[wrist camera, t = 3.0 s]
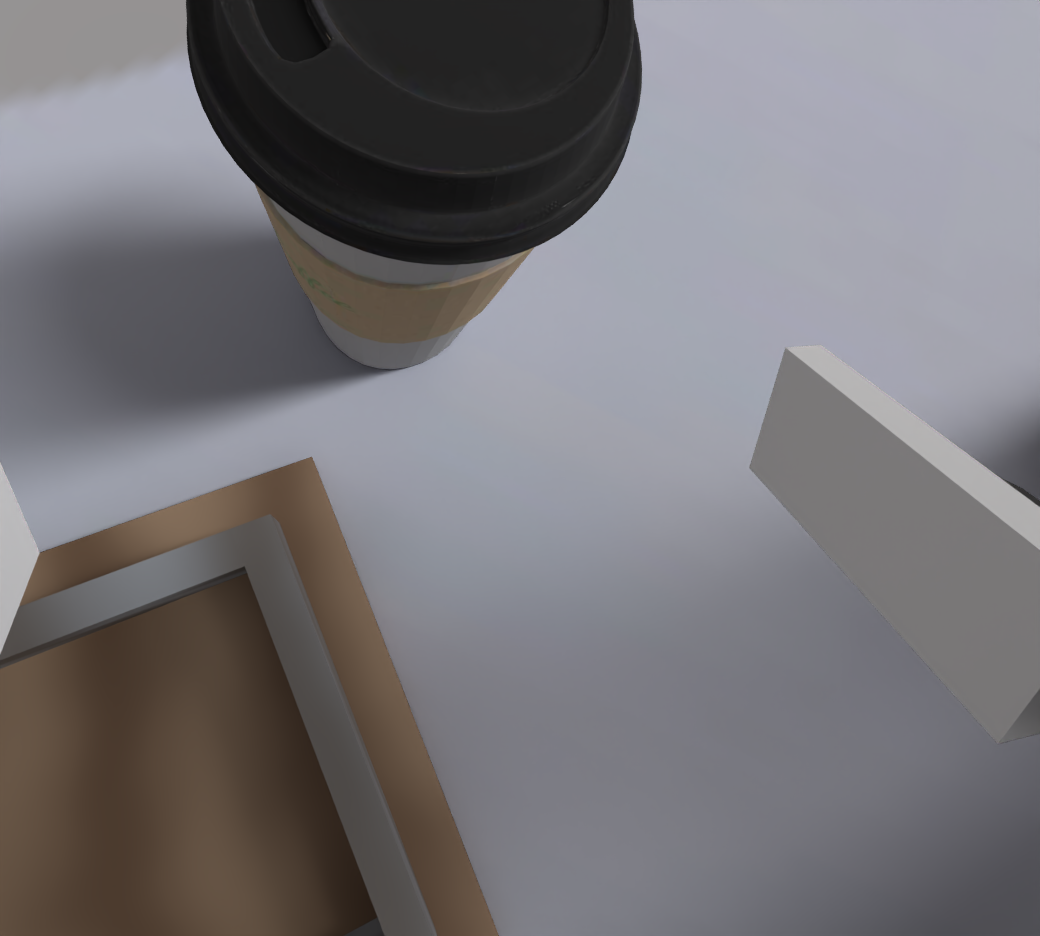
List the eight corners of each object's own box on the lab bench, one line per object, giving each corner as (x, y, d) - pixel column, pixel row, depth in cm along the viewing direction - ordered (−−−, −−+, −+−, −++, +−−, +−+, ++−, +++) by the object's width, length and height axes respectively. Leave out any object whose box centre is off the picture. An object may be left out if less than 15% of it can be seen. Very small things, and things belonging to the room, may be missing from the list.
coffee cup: (207, 302, 26) (31, -53, 12) (376, 138, 29) (401, -320, 14) (410, 466, 27) (479, 321, 12) (557, 292, 29) (756, 3, 15)
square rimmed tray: (313, 460, 26) (306, 439, 22) (500, 940, 25) (526, 1001, 21) (-283, 671, 21) (-415, 688, 18) (-87, 1282, 20) (-185, 1437, 16)
